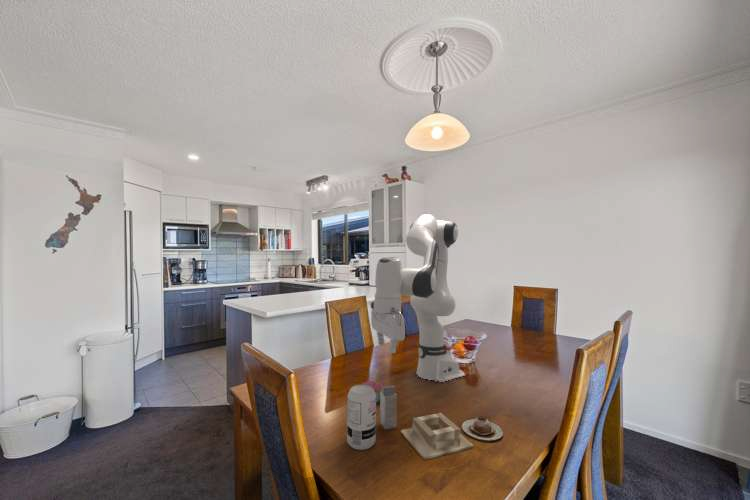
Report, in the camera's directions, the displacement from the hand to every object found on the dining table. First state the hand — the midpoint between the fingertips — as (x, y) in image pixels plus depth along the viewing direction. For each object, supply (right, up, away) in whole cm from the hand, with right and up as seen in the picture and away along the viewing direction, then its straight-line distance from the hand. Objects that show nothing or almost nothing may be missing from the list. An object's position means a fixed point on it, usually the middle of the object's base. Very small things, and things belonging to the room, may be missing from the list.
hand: (386, 348), depth 99 cm
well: (+14, -23, -10) cm, 29 cm away
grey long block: (0, -24, -3) cm, 24 cm away
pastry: (+29, -24, -6) cm, 39 cm away
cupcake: (-5, -24, +14) cm, 29 cm away
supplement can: (-8, -23, -12) cm, 27 cm away
